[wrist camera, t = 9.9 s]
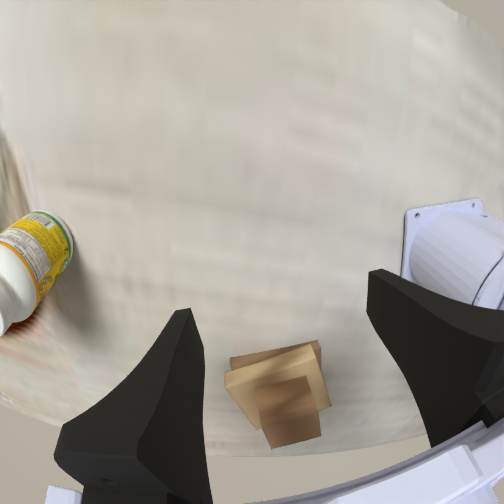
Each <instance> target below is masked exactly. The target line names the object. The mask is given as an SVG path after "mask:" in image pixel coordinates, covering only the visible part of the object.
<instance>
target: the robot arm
mask: <svg viewBox="0 0 504 504" xmlns="http://www.w3.org/2000/svg"><path fill="white" fill-rule="evenodd" d="M482 204H483V203H482V200H481V199H478V198H477V199H471V200H465V201H459V202H453V203H446V204H440V205H434V206H428V207H422V208H416V209H410V210H408V211H407V213H406V216H405V236H404V251H403V264H402V274H401V277H400V276H398V275H396V274H393V273H391V272H389V271H386V270H384V269H378V270H374V271H370V272H369V276H368V296H367V310H366V312H367V314H368V316H369V319H370V321H371V323H372V325H373V327H374V329H375V331H376V332H377V334H378V336H379V337H380V339H381V340H382V342H383V343H384V345H385V346H386V348H387V349H388V351H389V352H390V354H391V355H392V357H393V358H394V360H395V361H396V363H397V364H398V366H399V367H400V369H401V371H402V373H403V374H404V376H405V378H406V380H407V383H408V385H409V387H410V389H411V391H412V393H413V396H414V398H415V401H416V403H417V406H418V408H419V411H420V413H421V416H422V419H423V422H424V425H425V428H426V431H427V434H428V438H429V442H430V445H431V449H429V450H427V451H425V452H423V453H421V454H419V455H417V456H415V457H413V458H410V459H408V460H406V461H403V462H401V463H398V464H396V465H394V466H391V467H389V468H386V469H384V470H381V471H378V472H376V473H373V474H370V475H367V476H364V477H361V478H358V479H355V480H352V481H349V482H346V483H343V484H339V485H335V486H332V487H328V488H325V489H321V490H317V491H313V492H308V493H304V494H300V495H295V496H290V497H285V498H280V499H273V500H267V501H261V502H253V503H245V504H500V503H499V501H498V499H497V497H496V495H495V493H494V491H493V489H492V486H494V485H495V484H496V483H498V482H499V481H500V480H502V479H503V478H504V221H502V220H500V219H498V218H496V217H494V216H492V215H491V214H489V213H487V212H485V211H483V210H482ZM416 213H417V216H416V217H415V214H416ZM204 379H205V360H204V347H203V344H202V341H201V338H200V335H199V332H198V329H197V326H196V323H195V320H194V317H193V314H192V311H191V308H187V309H181V310H176V311H175V312H174V314H173V315H172V317H171V318H170V320H169V321H168V323H167V324H166V326H165V327H164V329H163V331H162V332H161V334H160V335H159V337H158V338H157V340H156V341H155V343H154V344H153V345H152V347H151V348H150V350H149V351H148V352H147V354H146V355H145V356H144V358H143V359H142V360H141V361H140V363H139V364H138V365H137V366H136V367H135V368H134V370H133V371H132V372H131V373H130V374H129V375H128V376H127V377H126V378H125V379H124V380H123V381H122V382H121V383H120V384H119V385H118V386H117V387H116V388H114V389H113V390H112V391H111V392H110V393H109V394H108V395H107V396H105V397H104V398H103V399H102V400H100V401H99V402H98V403H96V404H95V405H94V406H92V407H91V408H89V409H88V410H87V411H85V412H84V413H82V414H80V415H79V416H77V417H75V418H74V419H72V420H70V421H69V422H67V423H65V424H63V426H62V429H61V432H60V435H59V438H58V442H57V445H56V449H55V452H54V459H55V461H56V463H57V464H58V466H59V467H60V468H62V469H63V470H64V471H65V472H66V473H67V474H69V475H70V476H71V477H73V478H74V479H75V480H77V481H78V482H79V483H81V484H82V485H84V489H83V493H81V492H79V491H76V490H72V489H68V488H63V487H59V486H54V485H49V487H48V491H47V496H46V500H45V504H213V500H212V495H211V490H210V484H209V477H208V471H207V463H206V454H205V445H204V433H203V398H204Z"/></svg>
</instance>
